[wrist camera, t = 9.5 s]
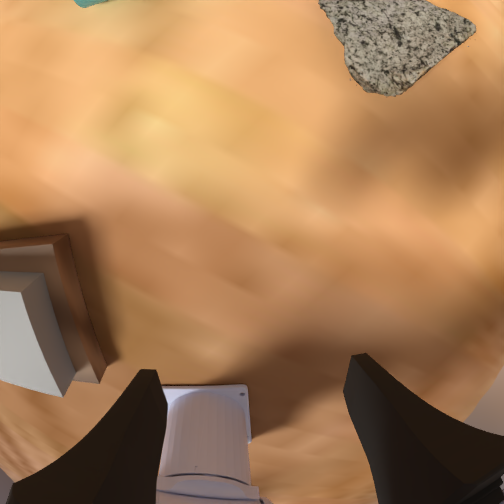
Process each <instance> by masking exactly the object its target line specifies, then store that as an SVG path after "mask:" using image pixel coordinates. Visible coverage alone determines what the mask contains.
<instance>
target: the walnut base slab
mask: <svg viewBox="0 0 504 504" xmlns="http://www.w3.org/2000/svg"><path fill="white" fill-rule="evenodd" d="M0 271H8V272H35V273H44V277H45V281H46V285H47V289H48V292H49V296H50V300H51V303H52V307H53V310H54V313H55V317H56V320H57V323H58V326H59V329H60V332H61V335H62V338H63V340H64V343H65V346H66V349H67V351H68V354H69V356H70V359H71V362H72V364H73V367H74V369H75V371H76V374H75V376H74V378H73V380H72V381H80V382H88V383H96V384H100V381H101V379H102V377H103V374H104V372H105V370H106V368H107V365H106V362H105V360H104V357H103V354H102V352H101V349H100V346H99V344H98V341H97V338H96V335H95V332H94V329H93V326H92V323H91V320H90V317H89V314H88V311H87V308H86V304H85V301H84V297H83V294H82V290H81V287H80V283H79V279H78V275H77V271H76V267H75V263H74V259H73V254H72V250H71V245H70V240H69V235H68V234H59V235H49V236H40V237H31V238H23V239H15V240H6V241H0Z"/></svg>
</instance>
